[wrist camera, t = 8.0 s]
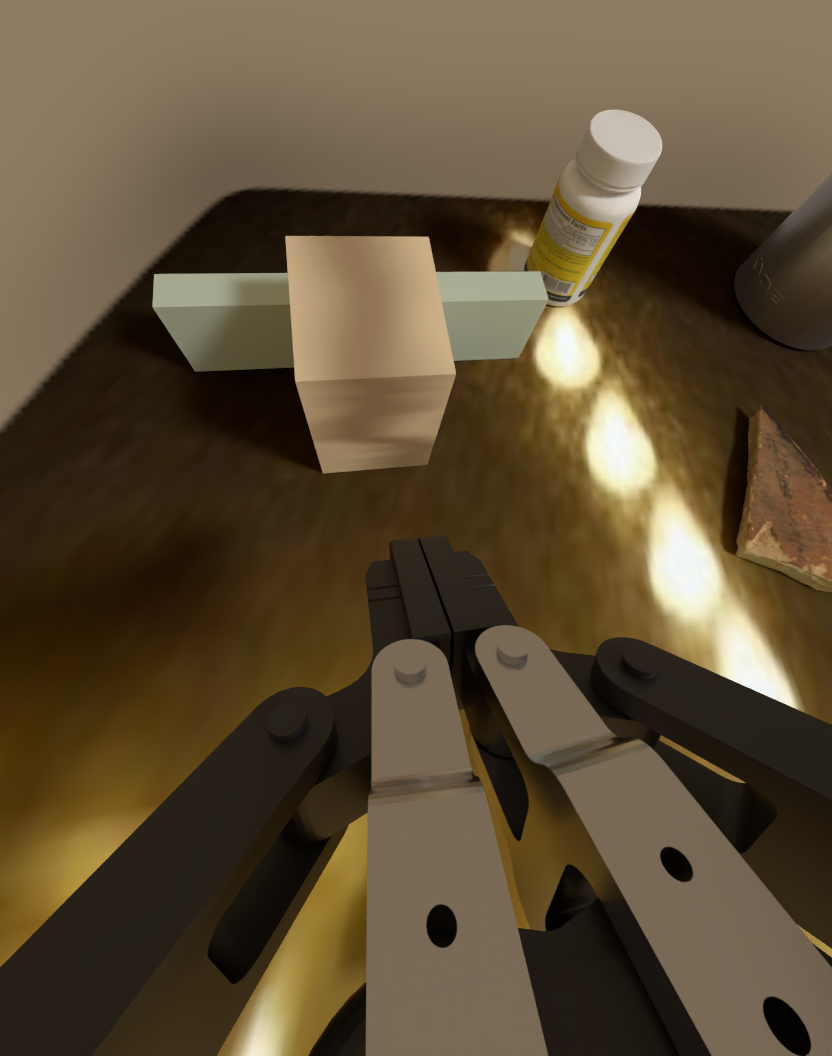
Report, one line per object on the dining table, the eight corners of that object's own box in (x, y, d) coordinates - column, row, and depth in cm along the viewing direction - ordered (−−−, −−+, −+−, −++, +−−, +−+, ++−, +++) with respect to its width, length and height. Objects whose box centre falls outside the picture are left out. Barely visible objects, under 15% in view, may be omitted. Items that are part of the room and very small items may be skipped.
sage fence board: (512, 333, 25) (540, 271, 21) (518, 358, 25) (548, 299, 21) (195, 343, 23) (154, 274, 18) (195, 371, 22) (152, 307, 18)
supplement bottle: (565, 252, 28) (642, 99, 20) (595, 301, 27) (688, 160, 19) (509, 264, 27) (567, 108, 19) (538, 315, 26) (611, 172, 18)
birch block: (410, 364, 24) (428, 236, 16) (427, 464, 22) (456, 374, 14) (314, 368, 23) (285, 236, 15) (323, 473, 21) (294, 381, 14)
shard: (742, 415, 26) (768, 399, 25) (844, 458, 26) (877, 445, 25) (721, 554, 23) (749, 548, 21) (837, 604, 23) (874, 601, 21)
